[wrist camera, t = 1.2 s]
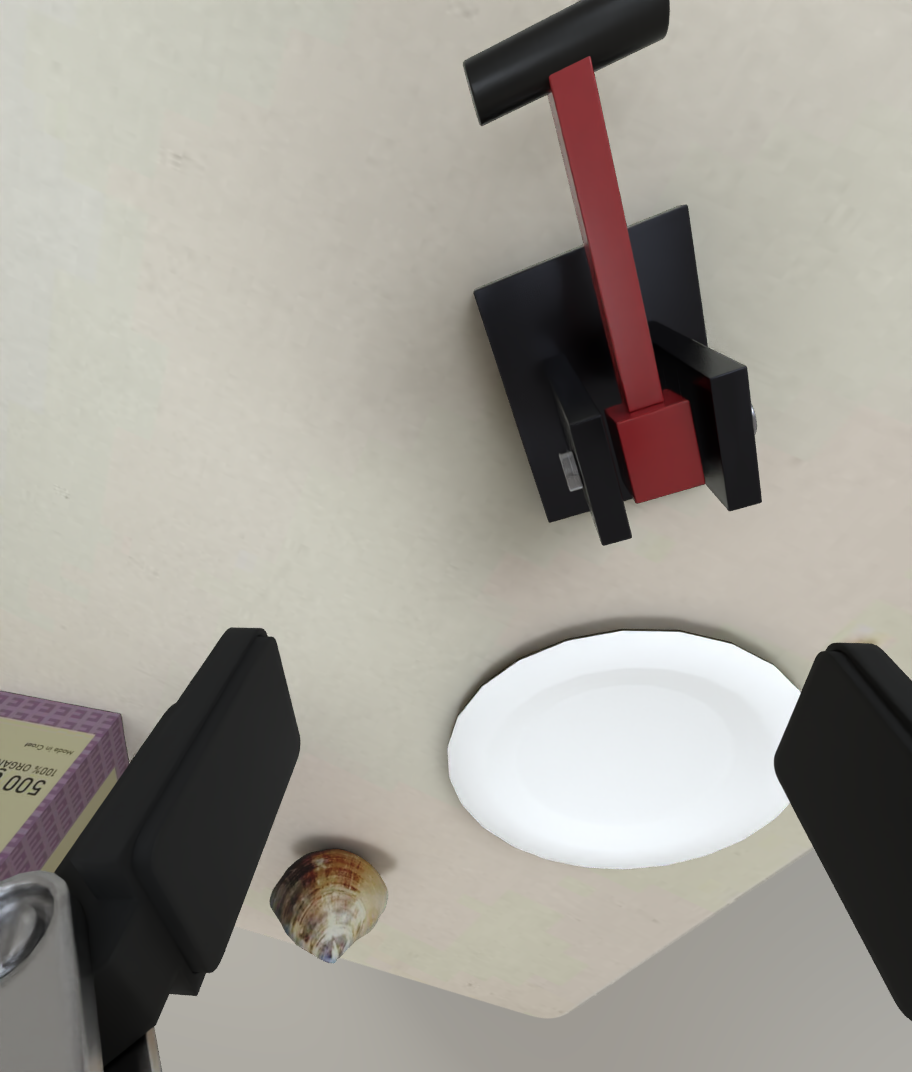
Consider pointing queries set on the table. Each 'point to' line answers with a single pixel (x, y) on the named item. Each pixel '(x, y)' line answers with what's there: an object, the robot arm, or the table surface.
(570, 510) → the lever stand
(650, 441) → the red t-handle lever
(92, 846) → the robot arm
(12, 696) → the box
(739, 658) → the plate
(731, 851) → the table surface
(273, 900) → the seashell
